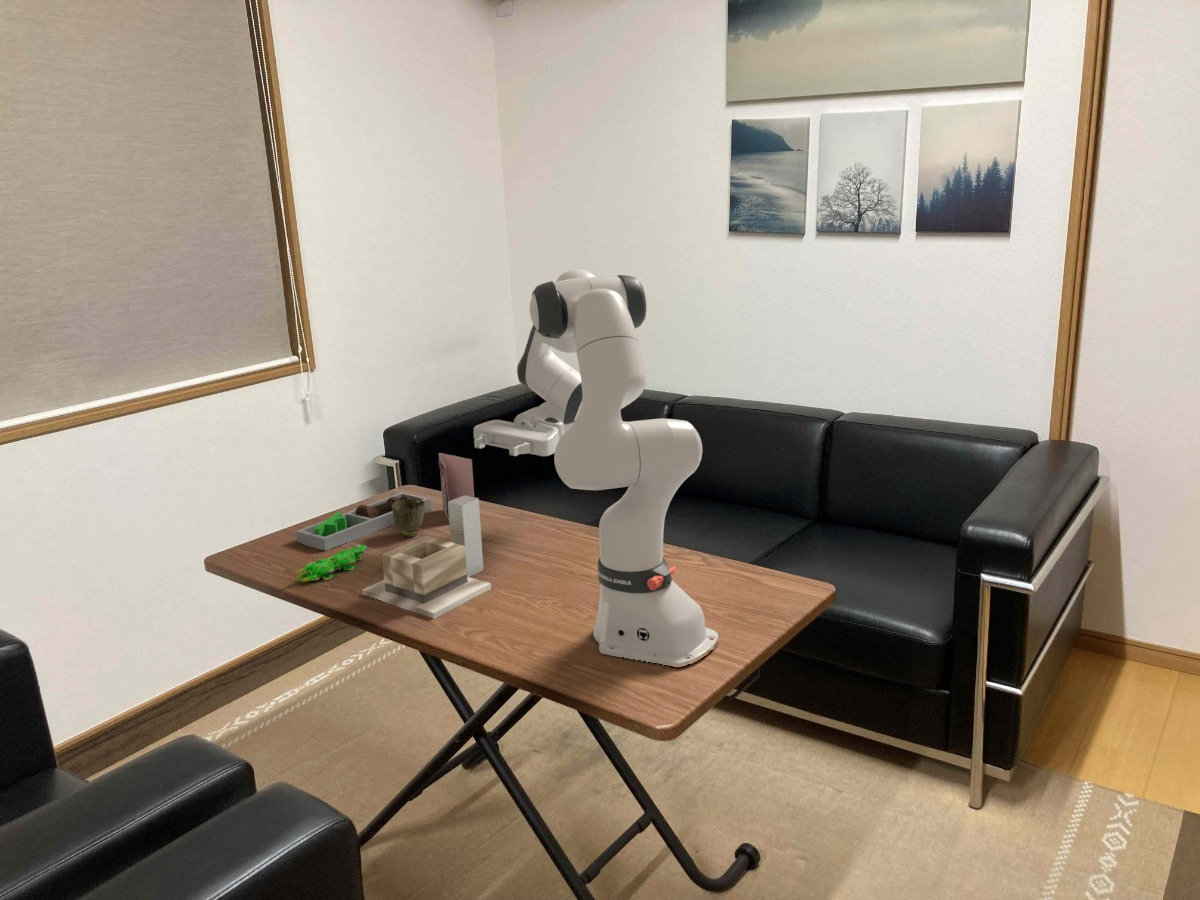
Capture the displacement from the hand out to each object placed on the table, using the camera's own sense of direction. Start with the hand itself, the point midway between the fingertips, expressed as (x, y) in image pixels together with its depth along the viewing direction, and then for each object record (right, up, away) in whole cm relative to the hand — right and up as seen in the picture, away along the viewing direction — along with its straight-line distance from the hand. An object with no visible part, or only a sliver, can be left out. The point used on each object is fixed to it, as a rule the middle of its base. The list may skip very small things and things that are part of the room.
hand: (494, 448), depth 199 cm
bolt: (-30, -17, +33) cm, 48 cm away
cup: (-22, -21, +21) cm, 36 cm away
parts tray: (-34, -19, +28) cm, 48 cm away
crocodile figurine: (-34, -27, +1) cm, 43 cm away
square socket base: (-12, -29, -11) cm, 33 cm away
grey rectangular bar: (-5, -26, -2) cm, 27 cm away
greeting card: (-13, -17, +33) cm, 39 cm away
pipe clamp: (-40, -21, +20) cm, 49 cm away
